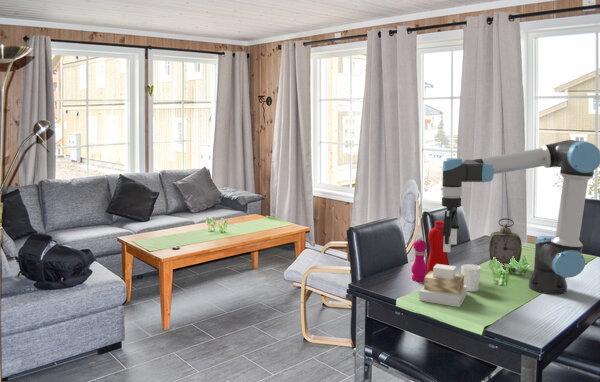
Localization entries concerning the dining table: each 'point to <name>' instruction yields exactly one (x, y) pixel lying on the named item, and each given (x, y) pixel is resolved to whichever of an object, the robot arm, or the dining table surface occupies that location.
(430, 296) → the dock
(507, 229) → the tabletop clock
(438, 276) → the white block
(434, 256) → the water bottle
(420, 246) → the pepper mill
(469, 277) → the white cup
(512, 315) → the dining table surface
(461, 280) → the pallet
